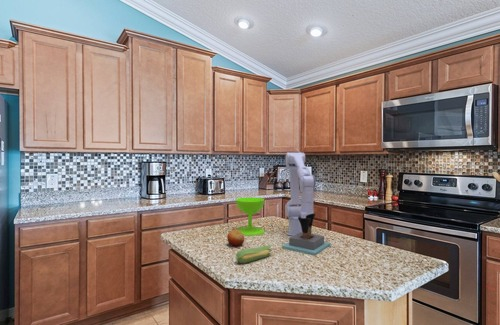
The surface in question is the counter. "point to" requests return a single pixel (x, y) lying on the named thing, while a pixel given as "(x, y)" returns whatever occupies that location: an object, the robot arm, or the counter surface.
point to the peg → (307, 234)
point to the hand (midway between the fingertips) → (306, 230)
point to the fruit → (235, 238)
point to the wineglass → (250, 214)
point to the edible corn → (253, 254)
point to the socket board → (313, 252)
